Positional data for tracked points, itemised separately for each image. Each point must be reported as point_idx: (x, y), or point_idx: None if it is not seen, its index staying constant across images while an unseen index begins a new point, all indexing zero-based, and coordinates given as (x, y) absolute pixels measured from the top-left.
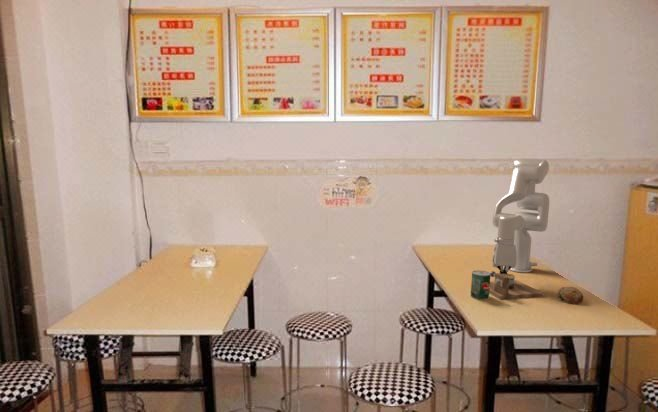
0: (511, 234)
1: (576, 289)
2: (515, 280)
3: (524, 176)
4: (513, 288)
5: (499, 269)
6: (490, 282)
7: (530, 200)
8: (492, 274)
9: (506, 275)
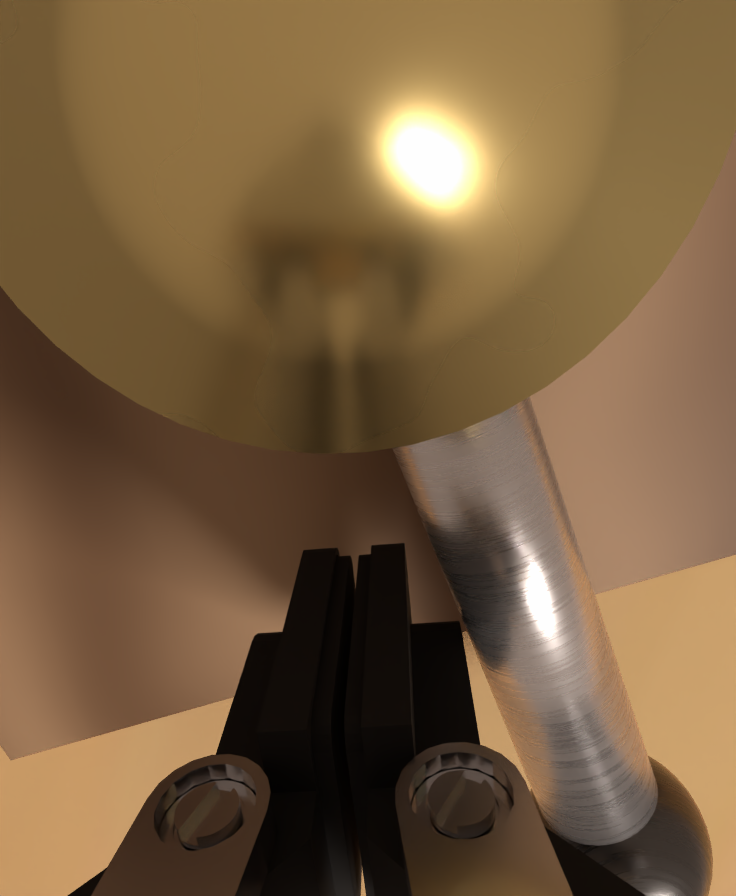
0: None
1: None
2: (28, 728)
3: None
4: None
5: (590, 864)
6: (720, 492)
7: None
8: (667, 792)
9: (413, 26)
